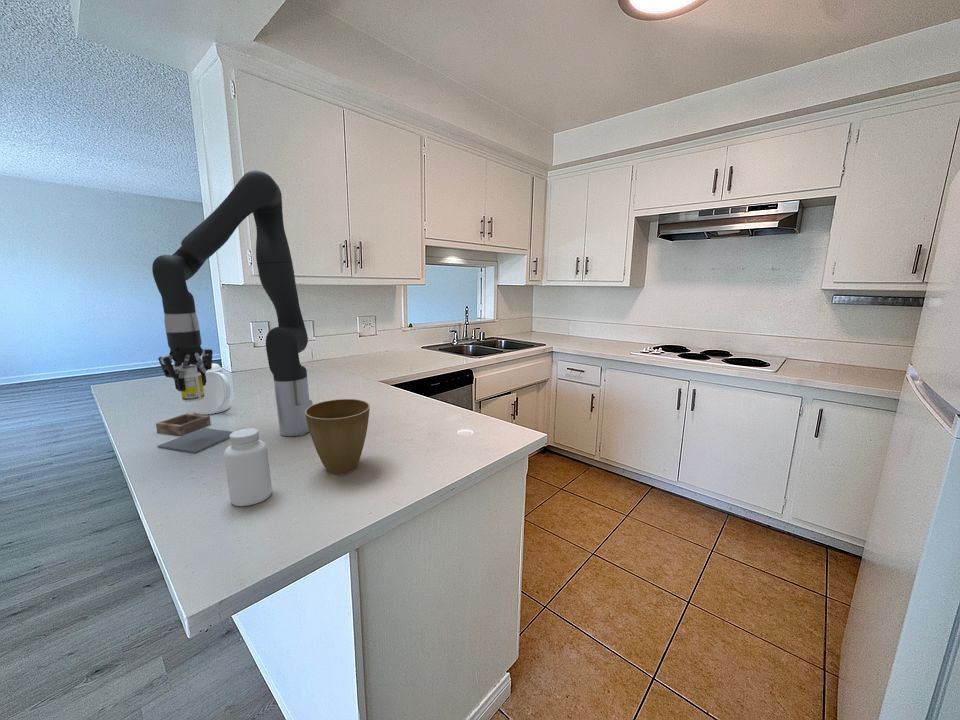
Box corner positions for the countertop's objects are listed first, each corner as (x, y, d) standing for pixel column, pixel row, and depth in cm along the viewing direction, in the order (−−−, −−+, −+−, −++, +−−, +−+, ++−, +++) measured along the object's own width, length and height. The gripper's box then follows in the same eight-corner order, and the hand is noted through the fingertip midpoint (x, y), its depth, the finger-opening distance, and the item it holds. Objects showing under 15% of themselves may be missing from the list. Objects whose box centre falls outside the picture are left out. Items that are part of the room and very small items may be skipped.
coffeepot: (208, 401, 151) (201, 354, 148) (247, 411, 140) (240, 360, 136) (176, 409, 142) (168, 359, 138) (215, 420, 131) (207, 366, 127)
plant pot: (307, 487, 89) (300, 421, 85) (314, 459, 103) (309, 401, 99) (374, 477, 93) (370, 414, 89) (372, 451, 107) (369, 396, 103)
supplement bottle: (197, 395, 115) (193, 364, 113) (208, 398, 113) (204, 366, 111) (178, 400, 110) (173, 368, 109) (189, 403, 108) (184, 369, 106)
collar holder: (210, 424, 127) (209, 416, 126) (180, 436, 118) (179, 426, 117) (188, 421, 130) (186, 413, 129) (157, 432, 120) (155, 423, 120)
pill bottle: (279, 487, 89) (271, 425, 86) (261, 507, 81) (252, 440, 78) (244, 487, 88) (235, 425, 85) (222, 508, 81) (211, 440, 77)
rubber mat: (239, 434, 119) (239, 432, 119) (195, 453, 106) (194, 451, 106) (204, 429, 123) (204, 427, 123) (157, 447, 110) (157, 445, 110)
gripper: (166, 333, 100) (176, 396, 103) (217, 327, 113) (224, 382, 117) (145, 332, 102) (155, 394, 105) (197, 326, 115) (205, 381, 119)
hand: (192, 387), depth 111 cm, fingers closed on supplement bottle, 5 cm apart
